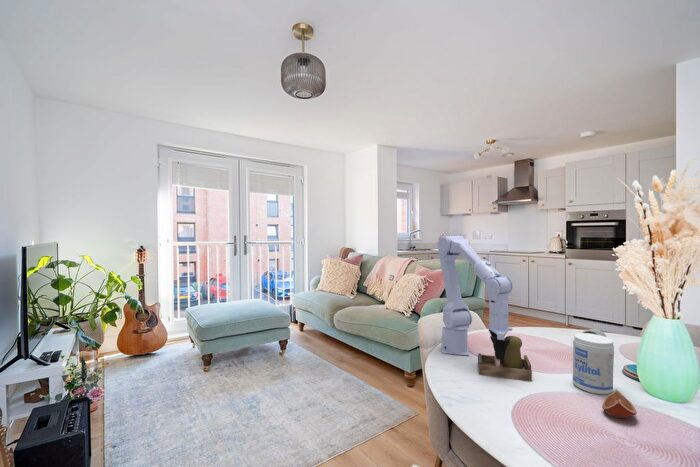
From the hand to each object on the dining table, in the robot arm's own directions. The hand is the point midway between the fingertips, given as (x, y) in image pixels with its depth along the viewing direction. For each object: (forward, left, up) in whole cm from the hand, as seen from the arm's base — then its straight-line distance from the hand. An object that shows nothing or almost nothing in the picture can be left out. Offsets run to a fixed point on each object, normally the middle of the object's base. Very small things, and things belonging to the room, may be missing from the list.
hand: (498, 355), depth 109 cm
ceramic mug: (+35, +34, -6) cm, 49 cm away
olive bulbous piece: (+4, 0, -5) cm, 6 cm away
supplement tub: (+25, -4, -5) cm, 26 cm away
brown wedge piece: (+26, -19, -6) cm, 33 cm away
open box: (+1, 0, -5) cm, 5 cm away
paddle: (-1, 0, -4) cm, 4 cm away
